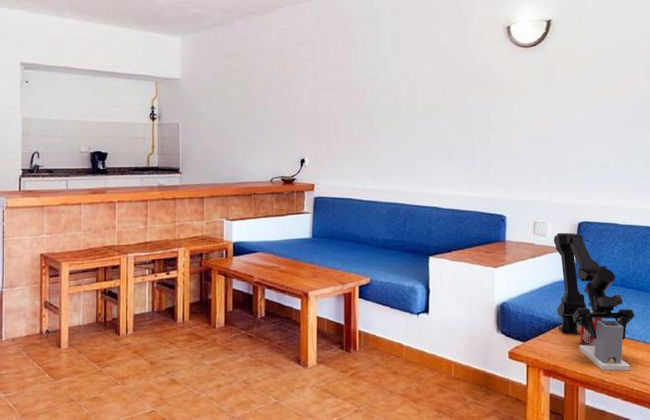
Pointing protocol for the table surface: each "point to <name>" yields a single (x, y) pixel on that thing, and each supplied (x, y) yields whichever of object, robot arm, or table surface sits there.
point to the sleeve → (608, 341)
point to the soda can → (586, 336)
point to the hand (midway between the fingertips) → (609, 338)
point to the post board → (610, 364)
